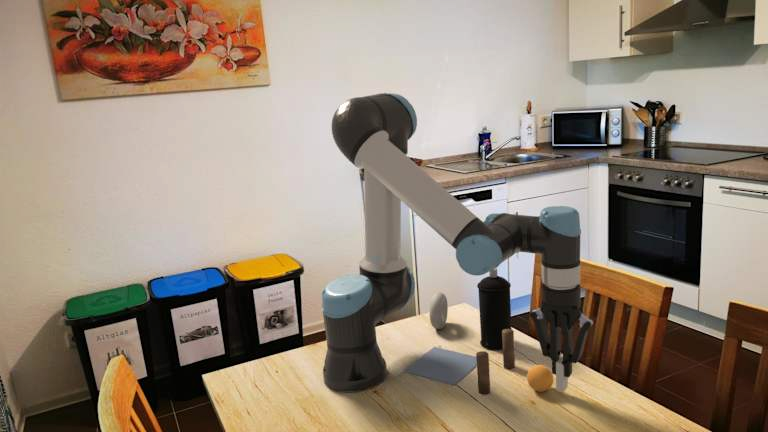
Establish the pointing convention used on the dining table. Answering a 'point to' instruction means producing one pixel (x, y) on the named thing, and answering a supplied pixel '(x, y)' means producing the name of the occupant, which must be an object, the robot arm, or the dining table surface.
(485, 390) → the post
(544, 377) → the ball
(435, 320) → the donut
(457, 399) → the dining table surface
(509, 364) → the post
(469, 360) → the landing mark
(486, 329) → the aerosol can
